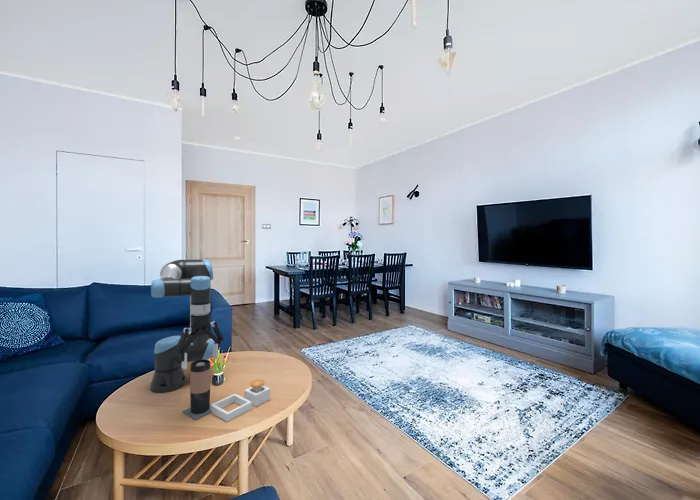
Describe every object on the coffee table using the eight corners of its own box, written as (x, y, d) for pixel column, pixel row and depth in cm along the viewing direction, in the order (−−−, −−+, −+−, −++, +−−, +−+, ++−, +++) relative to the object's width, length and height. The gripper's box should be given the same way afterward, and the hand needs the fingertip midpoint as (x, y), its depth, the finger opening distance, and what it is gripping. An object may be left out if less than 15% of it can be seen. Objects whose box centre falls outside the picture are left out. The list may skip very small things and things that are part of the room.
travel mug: (214, 405, 135) (214, 360, 134) (202, 415, 127) (202, 367, 127) (198, 403, 136) (198, 358, 136) (185, 413, 129) (186, 365, 128)
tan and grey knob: (247, 399, 141) (247, 382, 141) (258, 393, 146) (258, 378, 145) (256, 403, 137) (256, 386, 137) (266, 397, 142) (267, 381, 142)
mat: (182, 412, 131) (182, 410, 131) (205, 402, 139) (205, 400, 139) (195, 420, 125) (195, 419, 125) (218, 409, 133) (218, 408, 133)
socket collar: (210, 411, 131) (210, 404, 131) (234, 400, 141) (234, 393, 141) (227, 421, 125) (227, 414, 124) (251, 408, 134) (251, 401, 134)
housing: (244, 401, 141) (244, 390, 140) (258, 393, 147) (258, 383, 147) (255, 406, 136) (255, 395, 136) (269, 399, 143) (270, 388, 142)
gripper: (174, 321, 118) (174, 376, 119) (232, 309, 139) (231, 356, 140) (164, 317, 122) (165, 370, 123) (222, 306, 143) (222, 352, 144)
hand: (200, 363), depth 132 cm, fingers open, 13 cm apart
